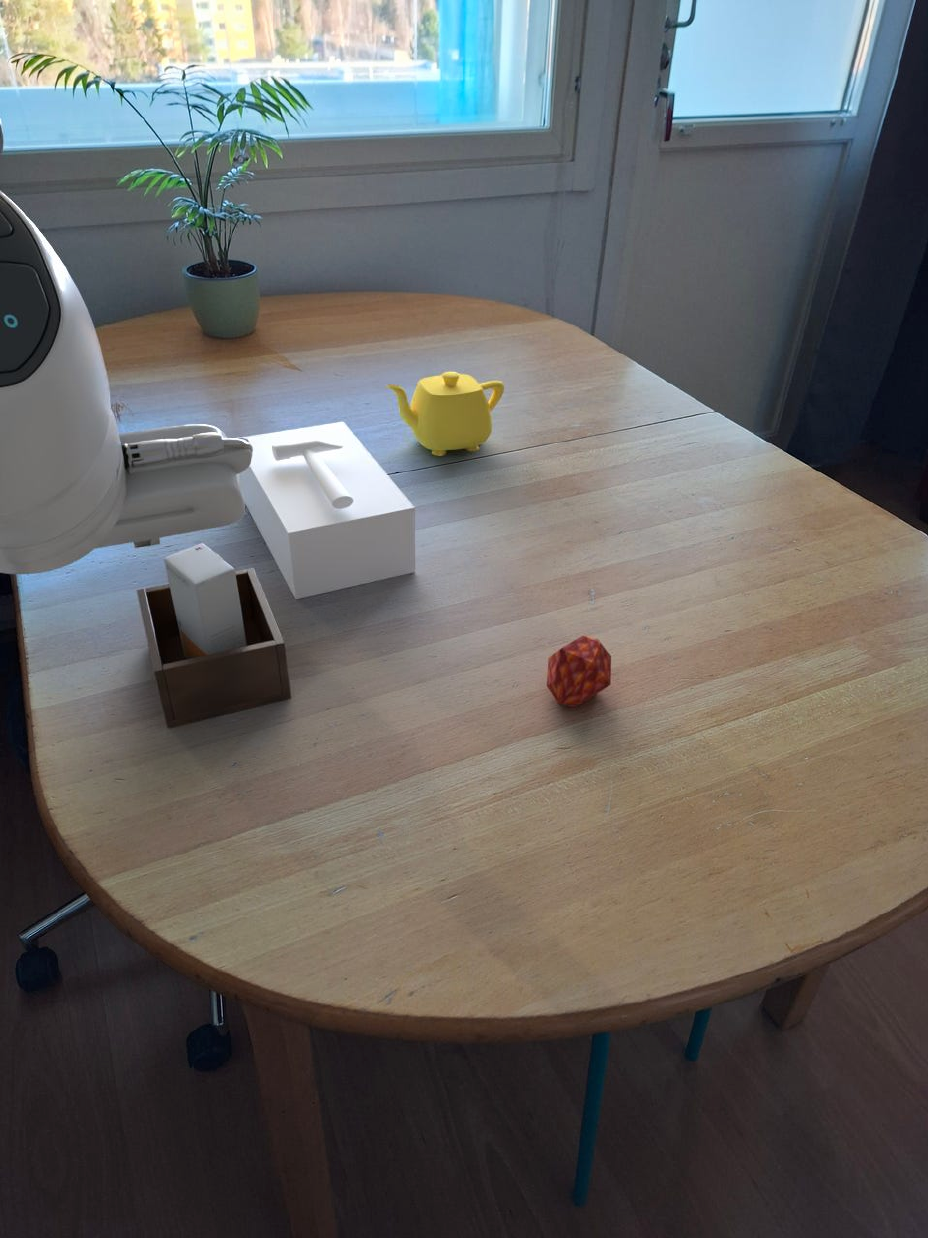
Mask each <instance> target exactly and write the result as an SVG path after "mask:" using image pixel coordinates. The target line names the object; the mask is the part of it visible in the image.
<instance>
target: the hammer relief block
mask: <svg viewBox="0 0 928 1238" xmlns="http://www.w3.org/2000/svg"><path fill="white" fill-rule="evenodd" d="M243 437H244V438H247V439H248V441H249V443H250V444H251V445H252V447H253V452H252V459H251V464H250V466H249V467H248V468H247V469H246V470H244V471H243V472H241V473H239V474H238V475H239V480H240V484H241V489H242V493H243V498H244V502H245V507H246V508H247V510H248V512H249V514H250V516H251V517H252V519H253V521H254V524H255V526H256V527H257V530H258V532H259V533H260V535H261V536H262V537H261V538H263V540H264V542H265V544H266V546H267V548H268V550H269V552H270V554H271V556H272V557H273V559H274V561H275V563H276V565H277V567H278V569H279V571H280V572H281V574H282V576H283V578H284V580H285V582H286V584H287V586H288V588H289V590H290V592H291V594H292V595H293V598H294V599H295V600H300V599H304V598H308V597H313V596H316V595H321V594H325V593H331V592H335V591H339V590H343V589H347V588H352V587H355V586H360V585H365V584H369V583H374V582H378V581H383V580H387V579H391V578H396V577H399V576H400V577H401V576H405V575H409V574H413V573H416V508H415V507H416V506H414V505H413V504H412V502H411V501H410V500H409V499H408V498H407V496H406V495H405V494H404V492H403V491H402V490H401V489H400V488H399V487H398V486H397V484H396V483H395V482H394V480H393V479H391V477H390V476H389V475H388V473H387V472H386V471H385V470H384V469H383V468H382V466H381V465H380V464H379V463H378V461H377V460H376V459H375V458H374V457H373V455H372V454H371V453H370V452H369V450H368V449H367V448H366V447H365V446H364V445H363V443H362V442H361V441H360V440H359V439H358V437H357V436H356V435H355V434H354V432H352V430H351V429H350V428H349V426H348V425H347V424H346V423H345V422H344V421H336V422H332V423H326V424H325V423H324V424H320V425H319V424H318V425H312V426H306V427H300V428H293V429H288V430H280V431H274V432H269V433H263V434H256V435H249V436H243Z"/></svg>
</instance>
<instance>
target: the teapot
mask: <svg viewBox="0 0 928 1238" xmlns="http://www.w3.org/2000/svg"><path fill="white" fill-rule="evenodd" d="M385 386H386V387H387V389H390V390H392V391H393V392H394V394H395V396H396V399H397V405H398V412H399V415H400V418H401V420H402V421H403V423H405V424H406V425H407V426H408V427H409V428H410V430H411V432H412V434H413V436H415V438H416V440H417V441H418V442H419V444H421V445H422V446H423V447H424V448H425V449H428V450H430V451H431V454H432V455H433V456H438V457H441V456H442V457H443V456H445V455H446V454H447V451H453V450H462V449H465V450H466V451H468V452H477V451H479V450H480V447H479V445H482V444H485V443H486V442H487V440H488V439H489V438H490V436H491V434H492V431H493V420H492V419H493V418H492V411H493V410H494V408H495V407H496V406H497V404H498V403H499V401H500V400H501V399H502V396H503V394H504V391H505V385H504V383H503V382H502V381H500V380H491V381H486V382H482V383H479V381H477V380H476V378H474V377H473V376H472V375H470V374H467V373H466V374H465V373H458V372H456V371H445V372H442V373H441V374H439V375H432V376H428V377H424V378H421V379H420V380H419V381H418V382H417V385H416V387H415V390H414V392H413V395H412V397H411V400H410V404H409V401H408V396H407V393H406V391H405V389H404V388H403V387H402V386H400V385H397V384H385ZM491 389H492V394H491V396H490V398H489V401H488V398H487V395H486V393H485V390H491Z"/></svg>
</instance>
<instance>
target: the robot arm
mask: <svg viewBox="0 0 928 1238" xmlns="http://www.w3.org/2000/svg"><path fill="white" fill-rule="evenodd" d="M1 118H2V117H0V158H1V157H2V154H3V151H4V133H3V124H2V119H1ZM111 402H112V401H111V389H110V383H109V378H108V373H107V369H106V364H105V361H104V356H103V352H102V348H101V344H100V340H99V338H98V334H97V331H96V328H95V326H94V322H93V320H92V317H91V315H90V312H89V309H88V307H87V305H86V303H85V300H84V298H83V297H82V294H81V292H80V290H79V288H78V287H77V285H76V283H75V282H74V280H73V278H72V276H71V274H70V273H69V271H68V269H67V267H66V265H64V263H63V261H62V259H61V258H60V257H59V255H58V254H57V253H56V251H55V250H54V248H53V247H52V245H51V244H50V242H49V241H48V239H46V237H45V236H44V235H43V234H42V233H41V231H40V230H39V229H38V227H37V226H36V225H35V224H34V222H33V221H32V220H31V219H30V218H29V217H28V216H27V215H26V214H25V213H24V212H23V211H22V209H20V207H18V205H16V203H15V202H14V201H12V200H11V198H9V197H8V196H7V195H6V194H5V193H4V192H3V191H1V190H0V573H1V574H6V575H7V574H8V575H34V574H42V573H47V572H51V571H55V570H57V569H58V570H59V569H63V568H65V567H67V566H69V565H71V564H73V563H75V562H78V561H79V560H81V559H83V558H84V557H86V556H87V555H89V554H90V553H91V552H93V551H94V550H97V549H102V548H108V547H113V546H114V547H115V546H120V545H125V544H130V543H131V544H132V543H133V546H134V549H138V548H145V547H151V546H157V545H160V544H161V539H162V538H165V537H170V536H176V535H183V534H189V533H194V532H199V531H205V530H211V529H217V528H218V529H219V528H223V527H227V526H230V525H232V524H234V523H236V522H238V521H240V520H242V519H243V518H244V516H245V513H246V504H245V502H244V498H243V493H242V489H241V483H240V476H239V473H241V472H243V471H244V470H246V469H247V468H248V467H249V466H250V464H251V459H252V452H253V447H252V445H251V444H250V443H249V441H248V439H247V438H244V437H245V436H239V437H234V438H233V437H232V438H231V437H230V438H228V437H227V435H226V434H225V433H224V431H222V429H220V428H218V427H216V426H214V425H209V424H200V423H199V424H181V425H174V426H166V427H159V428H153V429H144V430H137V431H130V432H122V433H120V432H119V428H118V423H117V421H116V417H115V414H114V412H113V410H112V408H111V407H112V403H111Z"/></svg>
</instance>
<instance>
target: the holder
mask: <svg viewBox="0 0 928 1238" xmlns="http://www.w3.org/2000/svg"><path fill="white" fill-rule="evenodd" d="M235 575H236V582H237V588H238V594H239V600H240V607H241V613H242V619H243V625H244V632H245V638H246V644H247V646H245V647H241V648H236V649H232V650H227V651H223V652H218V653H214V654H209V655H205V656H200V657H196V658H191V659H187V658H186V657H185V656H184V651H183V646H182V641H181V637H180V632H179V627H178V623H177V618H176V614H175V609H174V604H173V599H172V595H171V590H170V585H169V583H167V584H166V583H165V584H162V585H156V586H152V587H151V586H150V587H146V588H141V589H136V595H137V600H138V604H139V608H140V613H141V618H142V623H143V627H144V631H145V637H146V642H147V646H148V647H147V648H148V651H149V656H150V660H151V665H152V666H151V667H152V670H153V676H154V679H155V683H156V688H157V691H158V695H159V700H160V703H161V708H162V711H163V716H164V720H165V724H166V728H167V729H170V728H174V727H178V726H183V725H187V724H192V723H195V722H199V721H203V720H208V719H211V718H216V717H219V716H220V717H221V716H225V715H228V714H232V713H236V712H240V711H245V710H248V709H252V708H256V707H260V706H264V705H269V704H273V703H277V702H281V701H284V700H290V699H292V692H291V683H290V676H289V668H288V660H287V651H286V645H285V641H284V638H283V636H282V633H281V631H280V628H279V626H278V624H277V622H276V619H275V617H274V614H273V611H272V609H271V607H270V604H269V602H268V599H267V597H266V594H265V591H264V589H263V587H262V585H261V582H260V579H259V577H258V575H257V573H256V570H255V568H254V567H249V568H245V569H244V568H243V569H240V570H235Z"/></svg>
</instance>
